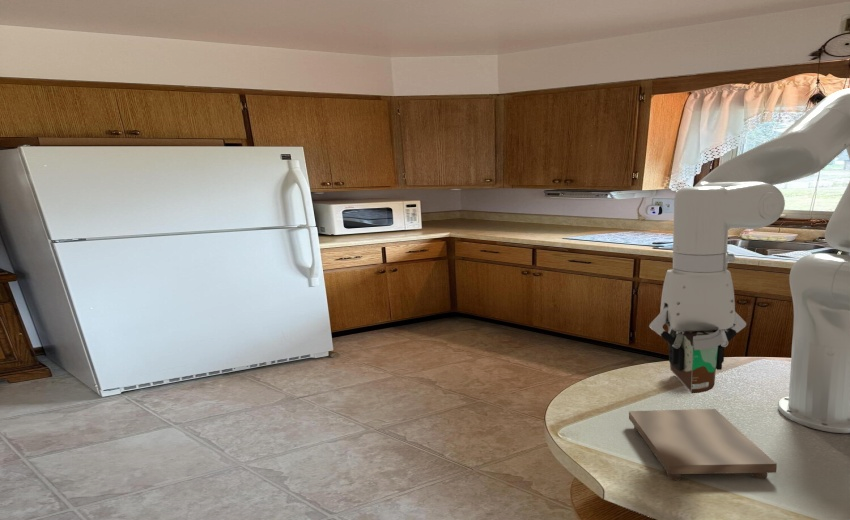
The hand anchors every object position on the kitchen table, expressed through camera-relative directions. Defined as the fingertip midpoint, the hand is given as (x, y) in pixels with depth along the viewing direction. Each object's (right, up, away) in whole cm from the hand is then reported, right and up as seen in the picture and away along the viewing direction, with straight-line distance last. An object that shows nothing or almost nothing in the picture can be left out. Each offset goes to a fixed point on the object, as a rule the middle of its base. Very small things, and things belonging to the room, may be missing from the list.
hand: (695, 366), depth 76 cm
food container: (+1, -3, 0) cm, 3 cm away
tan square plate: (+1, -15, +3) cm, 16 cm away
